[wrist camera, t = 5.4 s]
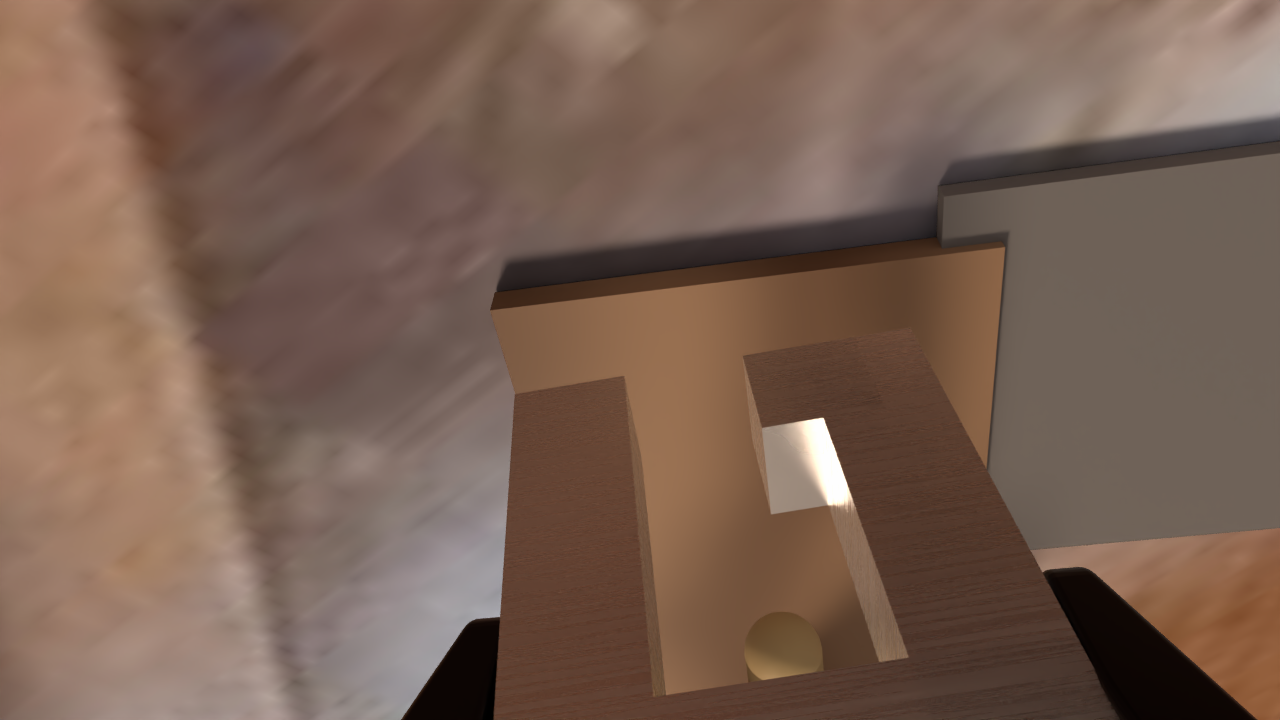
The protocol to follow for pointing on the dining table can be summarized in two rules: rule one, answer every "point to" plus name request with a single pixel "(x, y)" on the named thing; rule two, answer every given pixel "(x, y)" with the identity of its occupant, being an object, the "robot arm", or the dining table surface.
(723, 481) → the link stand
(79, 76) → the dining table surface
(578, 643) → the slotted rectangular block
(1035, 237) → the slate coaster
